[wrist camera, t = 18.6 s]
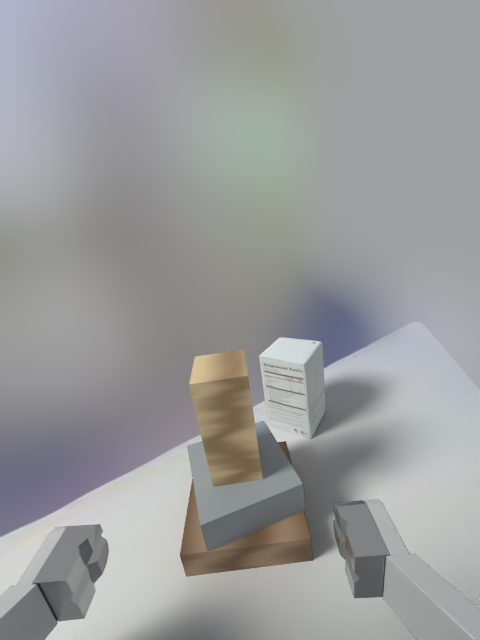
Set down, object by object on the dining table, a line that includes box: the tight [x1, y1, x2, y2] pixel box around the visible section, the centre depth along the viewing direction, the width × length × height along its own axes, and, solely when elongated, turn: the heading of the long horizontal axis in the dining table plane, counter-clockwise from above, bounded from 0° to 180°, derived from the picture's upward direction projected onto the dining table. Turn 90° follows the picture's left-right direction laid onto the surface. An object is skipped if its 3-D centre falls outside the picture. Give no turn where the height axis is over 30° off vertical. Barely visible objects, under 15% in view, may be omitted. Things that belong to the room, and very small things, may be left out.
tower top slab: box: [188, 421, 305, 553], centre depth 30 cm, size 10×10×4 cm
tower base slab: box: [180, 441, 313, 577], centre depth 31 cm, size 12×12×4 cm
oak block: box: [189, 350, 263, 487], centre depth 27 cm, size 5×5×12 cm
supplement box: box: [259, 338, 326, 438], centre depth 42 cm, size 7×7×13 cm
